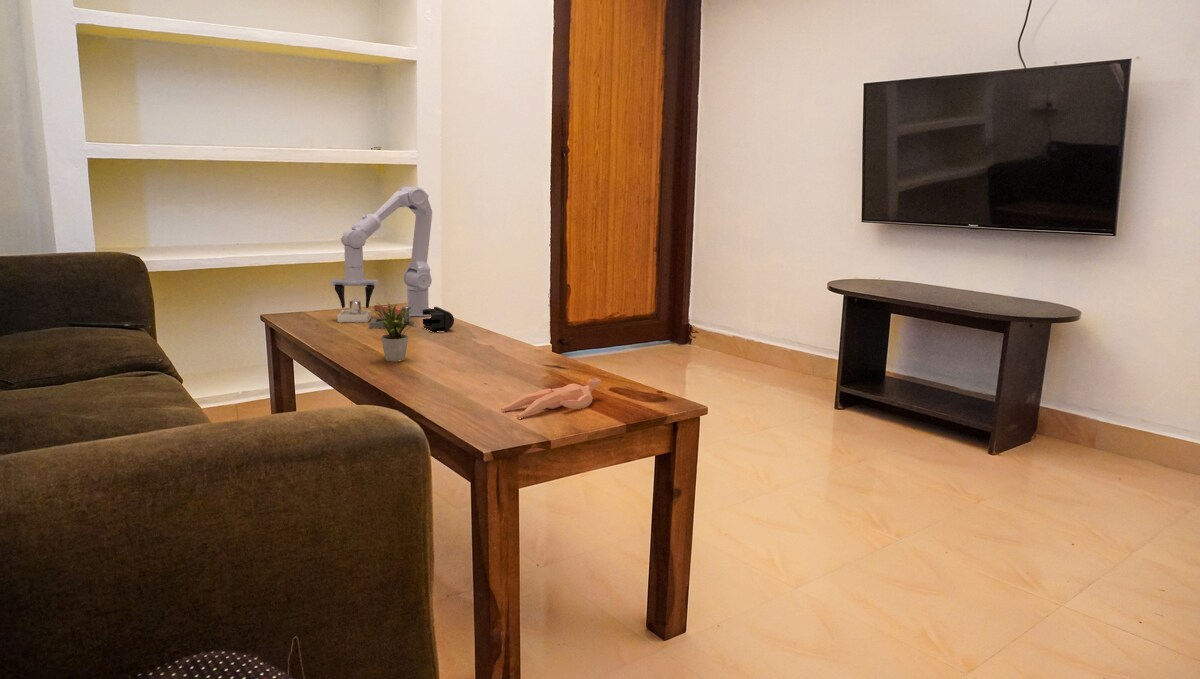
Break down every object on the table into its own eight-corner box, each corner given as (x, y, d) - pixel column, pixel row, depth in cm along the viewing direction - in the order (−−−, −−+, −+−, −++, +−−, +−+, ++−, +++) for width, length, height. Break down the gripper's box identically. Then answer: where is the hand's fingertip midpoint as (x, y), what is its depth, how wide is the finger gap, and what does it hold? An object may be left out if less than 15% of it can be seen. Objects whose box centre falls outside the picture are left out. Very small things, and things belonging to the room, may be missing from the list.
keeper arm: (406, 314, 260) (406, 308, 260) (400, 315, 258) (400, 309, 257) (379, 310, 266) (379, 304, 266) (372, 311, 264) (372, 305, 263)
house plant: (351, 360, 209) (349, 299, 206) (388, 350, 221) (386, 293, 218) (392, 367, 203) (391, 305, 199) (427, 357, 215) (427, 298, 211)
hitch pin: (349, 318, 262) (349, 297, 261) (360, 317, 264) (360, 297, 262) (350, 320, 259) (349, 299, 258) (361, 319, 260) (361, 298, 259)
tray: (342, 317, 267) (342, 310, 266) (371, 317, 268) (370, 310, 268) (337, 322, 257) (337, 315, 257) (367, 322, 259) (367, 315, 258)
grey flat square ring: (372, 323, 258) (372, 318, 258) (397, 323, 259) (397, 318, 259) (369, 328, 250) (369, 322, 250) (395, 328, 252) (395, 322, 251)
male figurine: (495, 395, 170) (584, 370, 186) (496, 417, 171) (585, 390, 187) (523, 407, 162) (614, 380, 178) (524, 430, 163) (615, 401, 179)
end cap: (454, 331, 250) (454, 310, 249) (433, 333, 246) (432, 312, 245) (443, 326, 258) (442, 305, 257) (422, 327, 255) (421, 307, 253)
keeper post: (401, 323, 260) (400, 306, 259) (413, 323, 261) (413, 306, 260) (400, 325, 257) (399, 308, 255) (412, 325, 257) (412, 308, 256)
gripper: (328, 267, 253) (330, 309, 256) (375, 268, 255) (376, 309, 258) (332, 265, 260) (334, 305, 263) (378, 265, 262) (379, 306, 265)
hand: (355, 307), depth 261 cm, fingers open, 7 cm apart
